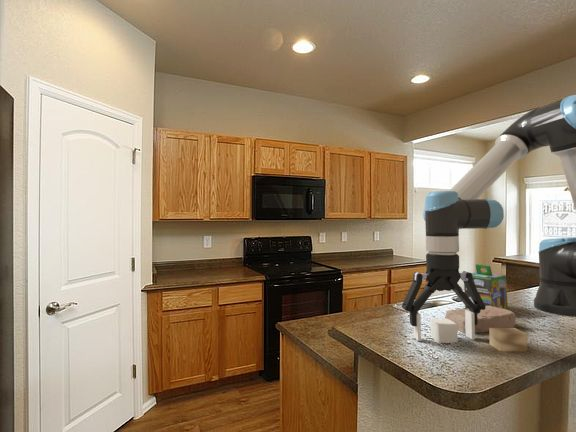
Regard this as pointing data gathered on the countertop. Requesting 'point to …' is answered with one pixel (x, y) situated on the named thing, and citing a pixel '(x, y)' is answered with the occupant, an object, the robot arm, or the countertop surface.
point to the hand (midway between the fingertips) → (443, 338)
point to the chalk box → (490, 287)
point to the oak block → (508, 339)
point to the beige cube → (444, 330)
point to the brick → (483, 319)
